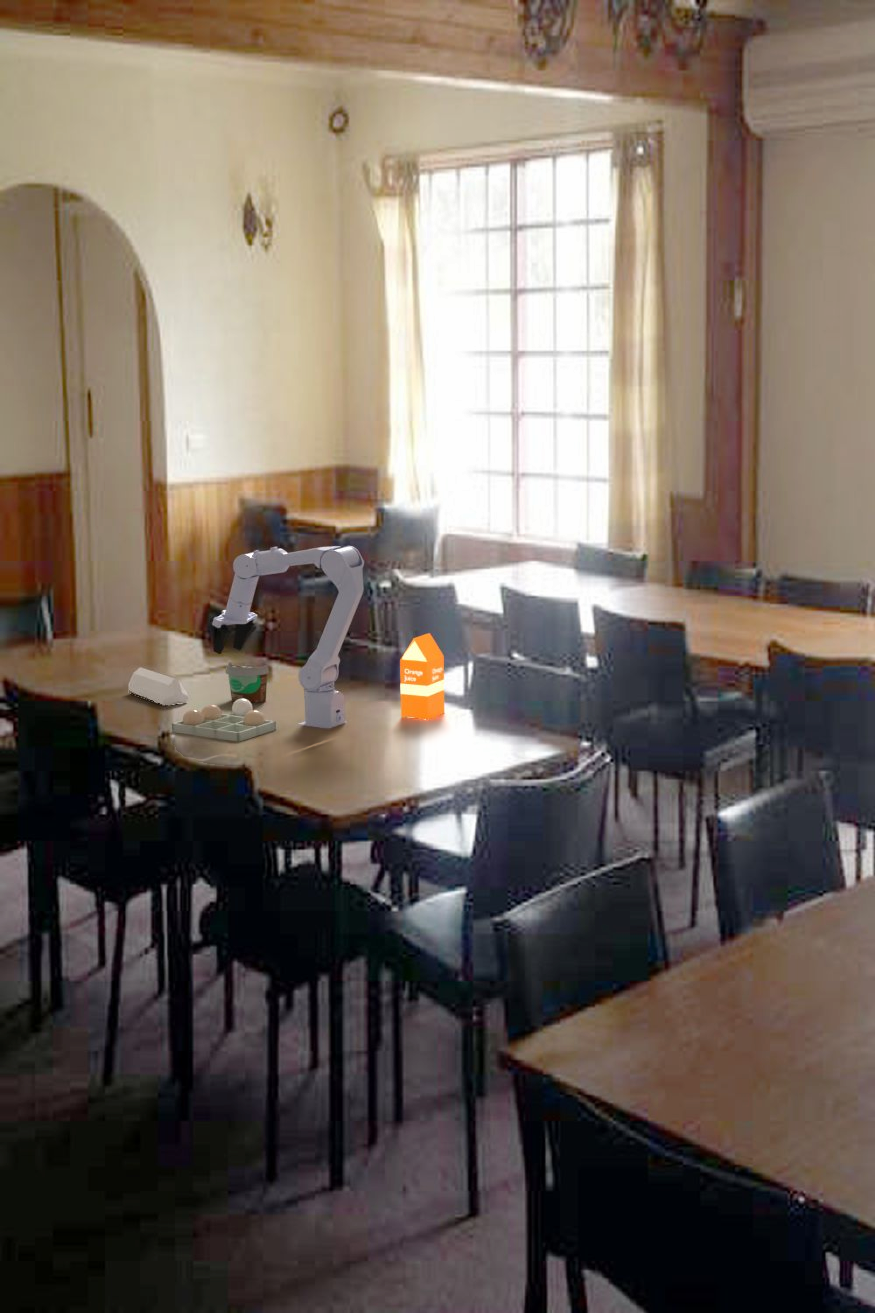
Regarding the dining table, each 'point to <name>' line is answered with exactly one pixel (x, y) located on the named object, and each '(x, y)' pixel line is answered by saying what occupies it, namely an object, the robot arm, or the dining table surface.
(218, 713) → the brown egg
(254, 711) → the brown egg
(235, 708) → the white egg
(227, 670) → the food container
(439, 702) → the orange juice
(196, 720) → the brown egg
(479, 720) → the dining table surface
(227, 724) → the egg tray
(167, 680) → the white trapezoid ingot
